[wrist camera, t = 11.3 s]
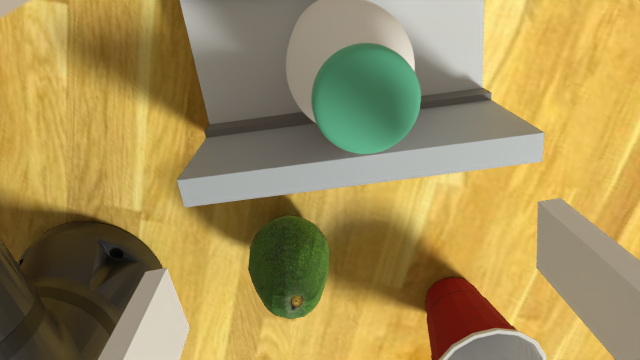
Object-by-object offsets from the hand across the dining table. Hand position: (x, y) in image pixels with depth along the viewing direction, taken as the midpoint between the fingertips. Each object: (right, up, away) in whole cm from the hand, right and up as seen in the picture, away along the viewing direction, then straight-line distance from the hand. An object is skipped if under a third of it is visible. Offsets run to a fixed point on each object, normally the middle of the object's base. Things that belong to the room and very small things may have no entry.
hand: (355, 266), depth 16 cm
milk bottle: (0, +14, +21) cm, 25 cm away
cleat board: (0, +15, +24) cm, 28 cm away
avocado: (-4, -2, +31) cm, 32 cm away
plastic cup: (+14, -10, +35) cm, 39 cm away
